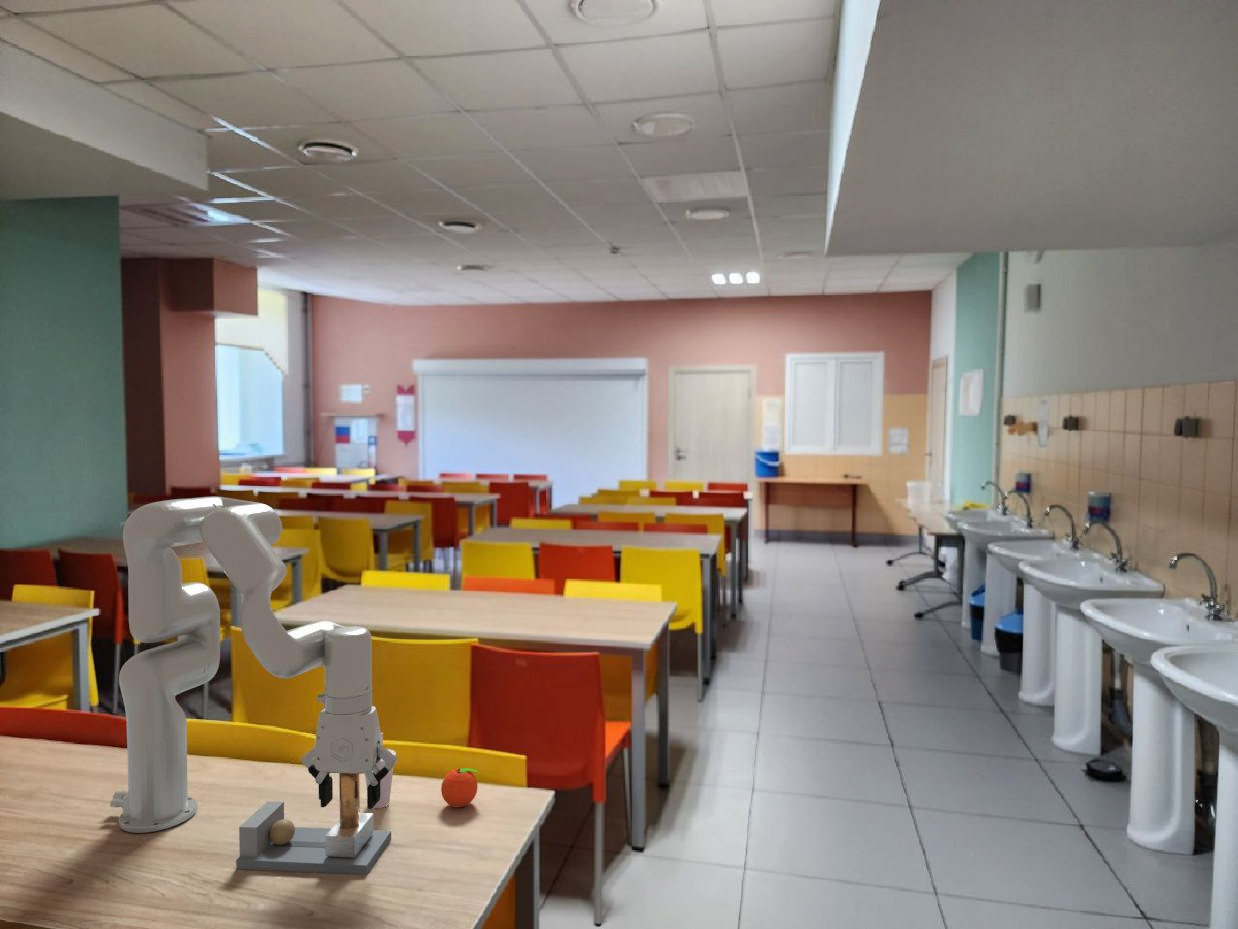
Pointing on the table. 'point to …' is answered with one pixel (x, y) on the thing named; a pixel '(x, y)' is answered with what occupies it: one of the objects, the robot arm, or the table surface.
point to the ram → (349, 821)
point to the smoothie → (383, 782)
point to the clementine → (459, 787)
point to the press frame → (298, 846)
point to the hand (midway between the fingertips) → (349, 804)
